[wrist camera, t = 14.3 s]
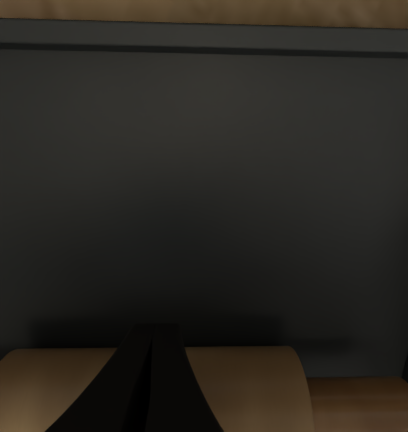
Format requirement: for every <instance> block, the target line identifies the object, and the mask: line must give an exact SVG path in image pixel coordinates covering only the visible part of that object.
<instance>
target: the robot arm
mask: <svg viewBox="0 0 408 432" xmlns="http://www.w3.org/2000/svg"><path fill="white" fill-rule="evenodd" d="M45 432H224V431H223V429H222V427H221V426H220V424H219V422H218V421H217V419H216V417H215V415H214V414H213V412H212V410H211V408H210V406H209V404H208V403H207V401H206V399H205V397H204V394H203V392H202V390H201V388H200V386H199V384H198V382H197V380H196V377H195V375H194V372H193V370H192V367H191V365H190V362H189V359H188V357H187V354H186V350H185V347H184V343H183V339H182V333H181V326H180V325H179V324H178V323H135V324H134V325H133V326H132V327H131V328H130V330H129V331H128V333H127V335H126V336H125V338H124V339H123V341H122V342H121V344H120V345H119V346H118V348H117V349H116V351H115V352H114V353H113V355H112V356H111V357H110V359H109V360H108V361H107V363H106V364H105V365H104V366H103V368H102V369H101V370H100V372H99V373H98V374H97V375H96V377H95V378H94V379H93V380H92V381H91V383H90V384H89V385H88V386H87V387H86V388H85V389H84V391H83V392H82V393H81V394H80V395H79V396H78V398H77V399H76V400H75V401H74V402H73V403H72V404H71V405H70V406H69V407H68V408H67V410H66V411H65V412H64V413H63V414H62V415H61V416H60V417H59V418H58V419H57V420H56V421H55V422H54V423H53V424H52V425H51V426H50V427H49V428H48V429H47V430H46V431H45Z"/></svg>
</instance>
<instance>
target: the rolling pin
mask: <svg viewBox="0 0 408 432" xmlns="http://www.w3.org/2000/svg"><path fill="white" fill-rule="evenodd" d="M116 349H117V348H36V349H15V350H13V351H11V352H9V353H8V354H7V355H6V356H5V357H4V358H3V359H2V360H1V361H0V432H45V431H46V430H47V429H48V428H49V427H50V426H51V425H52V424H53V423H54V422H55V421H56V420H57V419H58V418H59V417H60V416H61V415H62V414H63V413H64V412H65V411H66V410H67V408H68V407H69V406H70V405H71V404H72V403H73V402H74V401H75V400H76V399H77V398H78V396H79V395H80V394H81V393H82V392H83V391H84V389H85V388H86V387H87V386H88V385H89V384H90V383H91V381H92V380H93V379H94V378H95V377H96V375H97V374H98V373H99V372H100V370H101V369H102V368H103V366H104V365H105V364H106V363H107V361H108V360H109V359H110V357H111V356H112V355H113V353H114V352H115V351H116ZM185 350H186V354H187V357H188V359H189V362H190V365H191V367H192V370H193V372H194V375H195V377H196V380H197V382H198V384H199V386H200V388H201V390H202V392H203V394H204V397H205V399H206V401H207V403H208V404H209V406H210V408H211V410H212V412H213V414H214V415H215V417H216V419H217V421H218V422H219V424H220V426H221V427H222V429H223V431H224V432H408V383H407V382H406V381H405V380H404V379H402V378H401V377H398V376H360V377H306V376H305V373H304V370H303V367H302V364H301V362H300V359H299V357H298V355H297V353H296V352H295V350H294V349H293V348H292V347H290V346H219V347H185Z"/></svg>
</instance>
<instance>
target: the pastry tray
mask: <svg viewBox="0 0 408 432" xmlns="http://www.w3.org/2000/svg"><path fill="white" fill-rule="evenodd" d="M135 323H178V324H179V325H180V326H181V333H182V339H183V343H184V347H219V346H290V347H292V348H293V349H294V350H295V352H296V353H297V355H298V357H299V359H300V362H301V364H302V367H303V370H304V373H305V376H306V377H360V376H398V377H401V378H402V379H404V380H405V381H406V382H407V383H408V29H395V28H358V27H320V26H283V25H245V24H208V23H170V22H133V21H96V20H58V19H21V18H0V361H1V360H2V359H3V358H4V357H5V356H6V355H7V354H8V353H9V352H11V351H13V350H15V349H36V348H118V346H119V345H120V344H121V342H122V341H123V339H124V338H125V336H126V335H127V333H128V331H129V330H130V328H131V327H132V326H133V325H134V324H135Z"/></svg>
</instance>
